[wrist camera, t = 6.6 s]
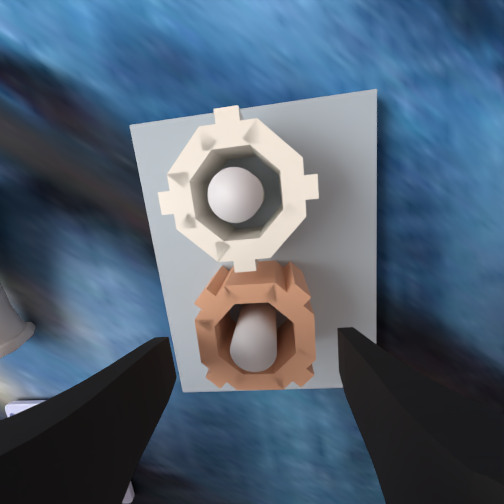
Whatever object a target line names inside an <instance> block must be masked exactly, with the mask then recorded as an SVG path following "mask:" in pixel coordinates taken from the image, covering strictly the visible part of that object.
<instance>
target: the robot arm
mask: <svg viewBox="0 0 504 504" xmlns="http://www.w3.org/2000/svg"><path fill="white" fill-rule="evenodd" d="M337 333H338V361H339V374H340V377H341V381H342V385H343V388H344V392H345V395H346V398H347V400H348V403H349V405H350V408H351V410H352V413H353V415H354V418H355V420H356V423H357V425H358V427H359V430H360V432H361V435H362V437H363V440H364V442H365V445H366V447H367V449H368V452H369V454H370V457H371V459H372V462H373V465H374V468H375V470H376V473H377V476H378V479H379V483H380V486H381V489H382V492H383V495H384V498H385V502H386V504H504V413H501V412H499V411H497V410H494V409H492V408H489V407H487V406H485V405H483V404H480V403H478V402H476V401H474V400H472V399H469V398H467V397H465V396H463V395H461V394H459V393H457V392H455V391H453V390H451V389H449V388H447V387H445V386H443V385H441V384H439V383H437V382H435V381H433V380H432V379H430V378H428V377H426V376H424V375H423V374H421V373H419V372H417V371H416V370H414V369H412V368H411V367H409V366H408V365H406V364H405V363H403V362H401V361H400V360H398V359H397V358H395V357H394V356H392V355H391V354H389V353H388V352H386V351H385V350H384V349H382V348H381V347H379V346H378V345H377V344H375V343H374V342H373V341H371V340H370V339H368V338H367V337H366V336H364V335H363V334H362V333H360V332H359V331H358V330H356V329H355V328H354V327H344V328H337ZM175 381H176V372H175V367H174V362H173V357H172V352H171V347H170V343H169V338H168V337H157V338H153V339H151V340H149V341H148V342H146V343H144V344H143V345H141V346H139V347H138V348H136V349H135V350H133V351H132V352H130V353H128V354H127V355H125V356H124V357H122V358H121V359H119V360H117V361H116V362H114V363H113V364H111V365H109V366H108V367H106V368H104V369H103V370H101V371H99V372H98V373H96V374H94V375H93V376H91V377H89V378H88V379H86V380H84V381H83V382H81V383H79V384H77V385H75V386H73V387H72V388H70V389H68V390H66V391H64V392H62V393H60V394H58V395H56V396H54V397H52V398H50V399H48V400H29V401H11V402H10V403H9V404H7V405H6V406H5V411H6V414H7V416H8V418H5V419H3V420H0V504H122V503H131V502H132V500H133V498H134V496H135V495H134V491H133V487H132V483H131V479H132V476H133V474H134V471H135V469H136V467H137V465H138V462H139V460H140V458H141V456H142V454H143V452H144V450H145V448H146V446H147V444H148V442H149V440H150V438H151V436H152V434H153V432H154V430H155V428H156V426H157V424H158V422H159V420H160V418H161V415H162V413H163V411H164V409H165V407H166V405H167V403H168V401H169V398H170V395H171V393H172V390H173V387H174V384H175Z"/></svg>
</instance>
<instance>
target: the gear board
mask: <svg viewBox="0 0 504 504" xmlns="http://www.w3.org/2000/svg"><path fill="white" fill-rule="evenodd" d="M240 111H241V113H242V115H243V118H244V120H247V119H254V118H258V119H259V120H260V121H261V122H262V123H263V124H265V125H266V126H267V127H268V128H269V129H270V130H272V131H273V132H274V133H275V134H276V135H277V136H279V137H280V138H281V139H282V140H283V141H284V142H285V143H287V144H288V145H289V146H290V147H291V148H292V149H294V150H295V151H296V152H297V153H298V154H299V155H301V156H302V157H303V168H304V175H311V174H318V192H319V199H310V200H305V202H306V218H305V219H304V220H303V221H302V222H301V223H300V224H299V226H298V227H297V228H296V229H295V230H294V231H293V232H292V234H291V235H290V236H289V237H288V238H287V239H286V241H285V242H284V243H283V244H282V245H281V246H280V247H279V249H278V250H277V251H276V252H275V253H274V254H273V256H272V257H271V258H264V259H259V261H272V260H275V261H276V262H278V263H279V264H280V265H281V266H282V267H285V266H286V265H287V264H288V262H289V261H291V262H292V263H293V264H294V265H295V266H296V267H298V268H299V269H300V270H301V271H302V272H303V275H304V278H305V281H306V283H307V286H308V289H309V292H310V295H311V298H310V299H309V300H310V303H311V306H312V309H313V312H314V320H315V346H316V360H315V361H314V362H313V363H312V366H313V370H314V376H313V377H312V378H311V379H310V380H309V381H308V382H307V383H305V384H304V385H303V386H302V387H299V386H298V385H297V384H296V383H294V382H293V381H292V382H291V383H290V384H289V385H288V386H287V387H286V388H285V389H316V388H343V385H342V381H341V377H340V374H339V361H338V333H337V328H344V327H354V328H355V329H356V330H358V331H359V332H360V333H362V334H363V335H364V336H366V337H367V338H368V339H370V340H371V341H373V342H374V343H375V344H376V259H377V89H373V90H366V91H359V92H352V93H345V94H339V95H332V96H325V97H318V98H311V99H305V100H298V101H291V102H284V103H277V104H271V105H264V106H257V107H250V108H243V109H240ZM212 124H215V116H214V113H209V114H202V115H196V116H189V117H182V118H175V119H168V120H162V121H155V122H148V123H141V124H134V125H130V130H131V135H132V140H133V145H134V150H135V155H136V160H137V165H138V170H139V175H140V180H141V185H142V190H143V195H144V200H145V205H146V210H147V215H148V220H149V225H150V230H151V235H152V240H153V245H154V250H155V255H156V260H157V265H158V270H159V275H160V280H161V285H162V290H163V295H164V300H165V305H166V310H167V315H168V320H169V325H170V330H171V335H172V340H173V345H174V350H175V355H176V360H177V365H178V370H179V375H180V380H181V385H182V390H183V392H211V391H246V390H236V389H235V388H234V387H232V386H231V385H230V384H228V383H226V384H225V385H224V386H223V387H222V388H221V389H220V388H219V387H217V386H216V385H215V384H213V383H212V382H211V381H209V380H208V379H207V378H205V377H206V374H207V372H208V369H209V368H207V367H206V366H205V365H203V364H202V363H201V359H200V352H199V346H198V340H197V333H196V327H195V321H194V320H195V318H196V317H197V315H198V313H199V312H200V310H201V309H200V308H199V307H198V306H196V305H195V304H194V302H195V301H196V300H197V298H198V297H199V295H200V294H201V293H202V291H203V290H204V288H205V287H206V285H207V284H208V283H209V281H210V280H211V278H212V277H213V276H214V275H215V273H216V272H217V271H218V270H219V269H220V267H221V266H224V267H225V268H226V269H227V270H229V271H230V269H231V268H232V267H233V266H234V263H233V261H228V262H217V261H216V260H215V259H214V258H212V257H211V256H210V255H208V254H207V253H206V252H205V251H203V250H202V249H201V248H200V247H198V246H197V245H196V244H194V243H193V242H192V241H191V240H189V239H188V238H187V237H186V236H184V235H183V234H182V233H181V232H179V231H178V230H177V229H176V224H175V218H174V214H168V215H162V213H161V208H160V203H159V197H158V192H164V191H170V190H169V184H168V178H167V173H168V172H169V170H170V169H171V167H172V166H173V164H174V163H175V161H176V160H177V158H178V157H179V155H180V154H181V152H182V151H183V149H184V148H185V146H186V145H187V143H188V142H189V140H190V139H191V137H192V136H193V134H194V133H195V131H196V130H197V128H198V127H199V126H205V125H212ZM208 202H209V205H210V207H211V209H212V210H213V212H214V213H215V214H216V215H217V216H218V217H219V218H221V219H222V220H224V221H227V222H229V223H230V224H231V225H232V226H234V227H235V228H236V229H238V228H249V227H259V226H264V224H265V223H266V222H267V221H268V220H269V218H270V217H271V216H272V215H273V214H274V212H275V211H276V210H277V209H278V208H279V206H280V205H281V199H280V186H279V175H277V174H276V173H275V172H274V171H273V170H272V169H270V168H269V167H268V166H267V165H266V164H264V163H263V162H262V161H261V160H260V159H259V158H257V157H250V158H242V159H234V160H228V161H227V162H226V164H225V165H224V166H223V168H222V169H221V170H220V172H218V173H217V174H216V175H215V176H214V177H213V178H212V180H211V182H210V184H209V187H208ZM230 315H231V319H233V320H234V321H235V322H236V323H237V324H236V328H235V331H234V335H233V339H232V342H231V346H230V354H231V357H232V359H233V361H234V363H235V364H236V365H237V366H239V367H240V368H242V369H243V370H246V371H250V372H260V371H263V370H266V369H268V368H269V367H270V366H271V365H272V364H273V363H274V362H275V360H276V357H277V329H278V328H279V327H280V326H281V325H282V324H283V323H284V322H285V321H286V320H287V319H288V318H287V317H286V316H285V315H283V314H282V313H281V312H280V311H279V310H277V309H276V308H275V307H274V306H272V305H271V304H270V303H269V302H266V303H246V304H234V305H233V306H232V308H231V309H230Z"/></svg>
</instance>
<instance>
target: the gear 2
mask: <svg viewBox="0 0 504 504" xmlns="http://www.w3.org/2000/svg"><path fill="white" fill-rule="evenodd" d="M310 298H311V295H310V292H309V289H308V286H307V283H306V281H305V278H304V275H303V272H302V271H301V270H300V269H299V268H298V267H296V266H295V265H294V264H293V263H292V262H291V261H289V262H288V264H287V265H286V266H285V267H282V266H281V265H280V264H279V263H278V262H276V261H275V260H272V261H258V265H257V270H256V271H249V272H236V273H235V271H234V266H233V267H232V268H231V269H230V271H229V270H227V269H226V268H225V267H224V266H221V267H220V269H219V270H218V271H217V272H216V273H215V275H214V276H213V277H212V278H211V280H210V281H209V283H208V284H207V285H206V287H205V288H204V290H203V291H202V293H201V294H200V295H199V297H198V298H197V300H196V301H195V302H194V304H195V305H196V306H198V307H199V308H200V309H201V310H200V312H199V313H198V315H197V317H196V318H195V320H194V321H195V327H196V333H197V340H198V346H199V352H200V359H201V363H202V364H203V365H205V366H206V367H207V368H209V369H208V372H207V374H206V377H205V378H207V379H208V380H209V381H211V382H212V383H213V384H215V385H216V386H217V387H219V388H220V389H221V388H222V387H223V386H224V385H225V384H226V383H228V384H230V385H231V386H232V387H234V388H235V389H236V390H284V389H285V388H286V387H287V386H288V385H289V384H290V383H291V382H292V381H293V382H294V383H296V384H297V385H298V386H299V387H302V386H303V385H304V384H305V383H307V382H308V381H309V380H310V379H311V378H312V377H313V376H314V370H313V366H312V363H313V362H314V361H315V360H316V346H315V320H314V312H313V309H312V306H311V303H310V300H309V299H310ZM266 302H269V303H270V304H271V305H272V306H274V307H275V308H276V309H277V310H279V311H280V312H281V313H282V314H283V315H285V316H286V317H287V318H288V319H287V320H286V321H285V322H284V323H283V324H282V325H281V326H280V327H279V328H278V329H277V357H276V360H275V362H274V363H273V364H272V365H271V366H270V367H269V368H268V369H266V370H263V371H260V372H250V371H246V370H243V369H242V368H240V367H239V366H237V365H236V364H235V363H234V361H233V359H232V357H231V354H230V346H231V342H232V339H233V335H234V331H235V328H236V324H237V323H236V322H235V321H234V320H233V319H231V315H230V309H231V308H232V306H233V305H234V304H246V303H266Z"/></svg>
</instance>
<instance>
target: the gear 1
mask: <svg viewBox="0 0 504 504" xmlns="http://www.w3.org/2000/svg"><path fill="white" fill-rule="evenodd" d="M214 116H215V124H212V125H205V126H199V127H198V128H197V130H196V131H195V133H194V134H193V136H192V137H191V139H190V140H189V142H188V143H187V145H186V146H185V148H184V149H183V151H182V152H181V154H180V155H179V157H178V158H177V160H176V161H175V163H174V164H173V166H172V167H171V169H170V170H169V172H168V173H167V178H168V184H169V190H170V191H164V192H158V197H159V203H160V208H161V213H162V215H168V214H174V218H175V224H176V229H177V230H178V231H179V232H181V233H182V234H183V235H184V236H186V237H187V238H188V239H189V240H191V241H192V242H193V243H194V244H196V245H197V246H198V247H200V248H201V249H202V250H203V251H205V252H206V253H207V254H208V255H210V256H211V257H212V258H214V259H215V260H216V261H217V262H228V261H233V263H234V271H235V273H236V272H249V271H256V270H257V265H258V261H259V259H264V258H271V257H272V256H273V254H274V253H275V252H276V251H277V250H278V249H279V247H280V246H281V245H282V244H283V243H284V242H285V241H286V239H287V238H288V237H289V236H290V235H291V234H292V232H293V231H294V230H295V229H296V228H297V227H298V226H299V224H300V223H301V222H302V221H303V220H304V219H305V218H306V202H305V200H310V199H319V192H318V174H311V175H304V168H303V157H302V156H301V155H299V154H298V153H297V152H296V151H295V150H294V149H292V148H291V147H290V146H289V145H288V144H287V143H285V142H284V141H283V140H282V139H281V138H280V137H279V136H277V135H276V134H275V133H274V132H273V131H272V130H270V129H269V128H268V127H267V126H266V125H265V124H263V123H262V122H261V121H260V120H259V119H258V118H254V119H247V120H244V118H243V115H242V113H241V111H240V108H239V106H238V105H237V106H230V107H223V108H217V109H214ZM250 157H257V158H259V159H260V160H261V161H262V162H263V163H264V164H266V165H267V166H268V167H269V168H270V169H272V170H273V171H274V172H275V173H276V174H277V175H279V186H280V199H281V205H280V206H279V208H278V209H277V210H276V211H275V212H274V214H273V215H272V216H271V217H270V218H269V220H268V221H267V222H266V223H265V224H264V226H259V227H249V228H238V229H236V228H235V227H234V226H232V225H231V224H230V223H229V222H227V221H224V220H222V219H221V218H219V217H218V216H217V215H216V214H215V213H214V212H213V210H212V209H211V207H210V205H209V202H208V187H209V184H210V182H211V180H212V178H213V177H214V176H215V175H216V174H217V173H218V172H220V170H221V169H222V168H223V166H224V165H225V164H226V162H227V161H228V160H234V159H242V158H250Z"/></svg>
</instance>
